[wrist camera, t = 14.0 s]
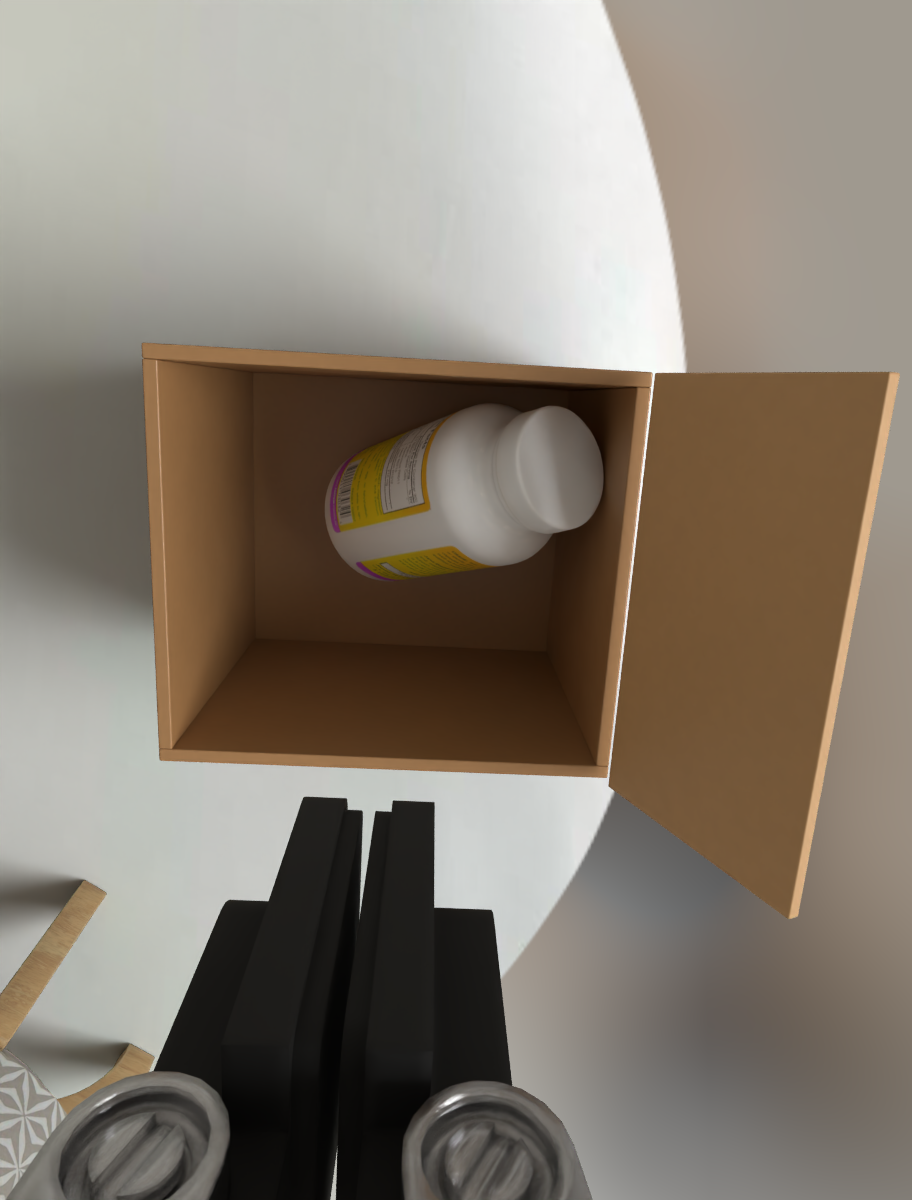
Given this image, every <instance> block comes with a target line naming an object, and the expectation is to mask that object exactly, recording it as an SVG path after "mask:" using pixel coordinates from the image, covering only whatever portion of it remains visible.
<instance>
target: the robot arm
mask: <svg viewBox="0 0 912 1200" xmlns="http://www.w3.org/2000/svg"><path fill="white" fill-rule="evenodd" d="M434 810H435V805H434V802H415V801H393V804H392V812H383V811H376V812H375V818H374V825H373V832H372V838H371V845H370V852H369V859H368V865H367V872H366V879H365V886H364V892H363V899H362V906H361V913H360V919H359V911H360V883H361V854H362V825H363V812H362V811H360V810H348V806H347V799H346V798H323V797H304V798H303V800H302V803H301V806H300V809H299V812H298V815H297V818H296V821H295V824H294V827H293V830H292V833H291V836H290V839H289V842H288V845H287V848H286V851H285V854H284V857H283V860H282V863H281V866H280V869H279V872H278V875H277V878H276V881H275V884H274V887H273V890H272V893H271V896H270V899H269V901H244V900H228V901H227V902H225V904H224V906H223V908H222V910H221V912H220V914H219V916H218V919H217V921H216V923H215V926H214V928H213V931H212V933H211V935H210V938H209V940H208V942H207V945H206V947H205V950H204V952H203V954H202V957H201V959H200V962H199V964H198V966H197V969H196V971H195V973H194V976H193V978H192V981H191V983H190V985H189V988H188V990H187V992H186V995H185V997H184V1000H183V1002H182V1004H181V1007H180V1009H179V1012H178V1014H177V1016H176V1019H175V1021H174V1023H173V1026H172V1028H171V1031H170V1033H169V1035H168V1038H167V1040H166V1042H165V1045H164V1047H163V1050H162V1052H161V1054H160V1057H159V1059H158V1061H157V1064H156V1066H155V1069H154V1071H152V1072H148V1073H143V1074H139V1075H134V1076H130V1077H125V1078H123V1079H121V1080H119V1081H117V1082H114V1083H112V1084H110V1085H108V1086H106V1087H103V1088H101V1089H99V1090H97V1091H96V1092H95V1093H93V1094H92V1095H91V1096H89V1097H88V1098H86V1099H85V1100H84V1101H82V1102H81V1103H80V1104H78V1105H77V1106H76V1107H74V1108H73V1109H72V1110H71V1111H70V1112H69V1114H68V1115H67V1116H66V1117H65V1118H64V1119H63V1120H62V1121H61V1123H60V1124H59V1125H58V1126H57V1127H56V1128H55V1129H54V1131H53V1132H52V1133H51V1135H50V1136H49V1138H48V1139H47V1140H46V1142H45V1143H44V1145H43V1146H42V1148H41V1149H40V1151H39V1152H38V1153H37V1155H36V1156H35V1158H34V1159H33V1161H32V1162H31V1163H30V1165H29V1166H28V1168H27V1169H26V1171H25V1172H24V1174H23V1175H22V1176H21V1178H20V1179H19V1181H18V1182H17V1184H16V1185H15V1187H14V1188H13V1189H12V1191H11V1192H10V1194H9V1195H8V1197H7V1198H6V1200H330V1197H331V1190H332V1182H333V1175H334V1167H335V1160H336V1152H337V1181H336V1182H337V1183H336V1200H592V1196H591V1193H590V1191H589V1187H588V1185H587V1182H586V1179H585V1176H584V1173H583V1170H582V1167H581V1164H580V1161H579V1158H578V1156H577V1153H576V1150H575V1147H574V1144H573V1142H572V1140H571V1138H570V1136H569V1134H568V1133H567V1131H566V1129H565V1127H564V1125H563V1123H562V1121H561V1120H560V1119H559V1118H558V1117H557V1116H556V1115H555V1114H554V1113H553V1112H552V1111H551V1110H550V1109H549V1108H548V1106H547V1105H546V1104H545V1103H543V1102H542V1101H540V1100H539V1099H537V1098H536V1097H534V1096H532V1095H531V1094H529V1093H527V1092H526V1091H524V1090H522V1089H520V1088H517V1087H514V1086H512V1080H511V1070H510V1061H509V1053H508V1043H507V1034H506V1025H505V1016H504V1007H503V997H502V988H501V979H500V970H499V961H498V952H497V943H496V933H495V924H494V917H493V912H492V910H480V909H454V908H434ZM337 1145H338V1147H337Z"/></svg>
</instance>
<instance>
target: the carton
mask: <svg viewBox="0 0 912 1200" xmlns="http://www.w3.org/2000/svg"><path fill="white" fill-rule="evenodd" d="M142 357H143V358H144V359H142V366H143V389H144V412H145V435H146V458H147V481H148V504H149V527H150V551H151V574H152V597H153V620H154V643H155V666H156V689H157V712H158V735H159V748H160V749H159V757H160V760H161V761H185V762H211V763H237V764H263V765H288V766H314V767H340V768H366V769H392V770H418V771H443V772H469V773H495V774H521V775H547V776H573V777H598V778H607V774H608V765H609V756H610V748H611V739H612V730H613V721H614V712H615V703H616V694H617V685H618V677H619V668H620V659H621V650H622V641H623V632H624V623H625V614H626V606H627V597H628V588H629V579H630V570H631V561H632V552H633V543H634V535H635V526H636V517H637V508H638V499H639V490H640V481H641V473H642V464H643V455H644V446H645V437H646V428H647V419H648V410H649V402H650V393H651V388H650V387H651V384H652V375H653V374H652V373H651V372H638V371H621V370H603V369H586V368H569V367H552V366H535V365H518V364H500V363H483V362H466V361H449V360H432V359H415V358H397V357H380V356H363V355H346V354H329V353H312V352H294V351H277V350H260V349H243V348H226V347H209V346H191V345H174V344H157V343H142ZM485 403H497V404H502V405H507V406H510V407H513V408H515V409H517V410H519V411H521V412H523V413H524V412H528V411H532V410H535V409H538V408H541V407H545V406H560V407H563V408H566V409H568V410H570V411H572V412H573V413H575V414H576V415H577V416H578V417H579V418H580V419H581V420H582V421H583V422H584V423H585V424H586V425H587V427H588V428H589V429H590V431H591V432H592V434H593V436H594V438H595V440H596V442H597V445H598V447H599V450H600V454H601V458H602V463H603V474H604V482H603V491H602V496H601V499H600V502H599V505H598V507H597V509H596V511H595V512H594V514H593V515H592V517H591V518H590V519H589V520H588V521H587V522H586V523H585V524H583V525H582V526H580V527H577V528H575V529H571V530H567V531H562V532H557V533H553V534H552V536H551V537H550V539H549V540H548V542H547V543H546V544H545V545H544V546H543V547H542V548H541V549H540V550H539V551H538V552H537V553H536V554H534V555H533V556H532V557H530V558H528V559H526V560H524V561H521V562H519V563H515V564H511V565H505V566H498V567H491V568H483V569H476V570H469V571H462V572H455V573H448V574H441V575H434V576H427V577H421V578H414V579H406V580H398V581H379V580H374V579H371V578H368V577H366V576H364V575H362V574H360V573H358V572H357V571H355V570H354V569H353V568H351V567H350V566H349V565H348V564H347V563H346V562H345V561H344V560H343V559H342V557H341V556H340V555H339V553H338V552H337V550H336V548H335V547H334V545H333V543H332V541H331V538H330V536H329V533H328V530H327V526H326V520H325V498H326V493H327V489H328V486H329V483H330V481H331V479H332V477H333V475H334V474H335V472H336V471H337V469H338V468H339V467H340V465H341V464H342V463H343V462H344V461H346V460H347V459H348V458H350V457H351V456H352V455H354V454H356V453H358V452H360V451H362V450H364V449H366V448H369V447H371V446H374V445H376V444H378V443H381V442H383V441H386V440H388V439H391V438H394V437H396V436H399V435H401V434H403V433H406V432H408V431H410V430H413V429H416V428H418V427H421V426H423V425H426V424H428V423H431V422H433V421H436V420H438V419H441V418H443V417H446V416H448V415H450V414H453V413H455V412H457V411H460V410H463V409H465V408H468V407H471V406H474V405H478V404H485Z"/></svg>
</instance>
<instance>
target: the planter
mask: <svg viewBox="0 0 912 1200" xmlns="http://www.w3.org/2000/svg"><path fill="white" fill-rule="evenodd" d="M105 896H106V892H104V891H102V890H101V889H99V888H97V887H96V886H94V885H92V884H91V883H89V882H87V881H85V880H84V881H83V882H82V883H81V885H80V886H79V887H78V889H77V890H76V891H75V893H74V894H73V895H72V897H71V898H70V900H69V901H68V902H67V904H66V905H65V906H64V908H63V909H62V911H61V912H60V913H59V915H58V916H57V917H56V919H55V920H54V922H53V923H52V924H51V926H50V927H49V928H48V930H47V931H46V933H45V934H44V935H43V937H42V938H41V939H40V941H39V942H38V944H37V945H36V946H35V948H34V949H33V950H32V952H31V953H30V955H29V956H28V957H27V959H26V960H25V961H24V963H23V964H22V966H21V967H20V968H19V970H18V971H17V972H16V974H15V975H14V977H13V978H12V979H11V981H10V982H9V983H8V985H7V986H6V988H5V989H4V990H3V992H2V993H1V994H0V1200H6V1198H7V1197H8V1195H9V1194H10V1192H11V1191H12V1189H13V1188H14V1187H15V1185H16V1184H17V1182H18V1181H19V1179H20V1178H21V1176H22V1175H23V1174H24V1172H25V1171H26V1169H27V1168H28V1166H29V1165H30V1163H31V1162H32V1161H33V1159H34V1158H35V1156H36V1155H37V1153H38V1152H39V1151H40V1149H41V1148H42V1146H43V1145H44V1143H45V1142H46V1140H47V1139H48V1138H49V1136H50V1135H51V1133H52V1132H53V1131H54V1129H55V1128H56V1127H57V1126H58V1125H59V1124H60V1123H61V1121H62V1120H63V1119H64V1118H65V1117H66V1116H67V1115H68V1114H69V1112H70V1111H71V1110H72V1109H73V1108H74V1107H76V1106H77V1105H78V1104H80V1103H81V1102H82V1101H84V1100H85V1099H86V1098H88V1097H89V1096H91V1095H92V1094H93V1093H95V1092H96V1091H97V1090H99V1089H101V1088H103V1087H106V1086H108V1085H110V1084H112V1083H114V1082H117V1081H119V1080H121V1079H123V1078H125V1077H130V1076H134V1075H139V1074H143V1073H148V1072H149V1070H150V1068H151V1065H152V1063H153V1061H154V1057H153V1056H152V1055H150V1054H148V1053H146V1052H144V1051H143V1050H141V1049H139V1048H137V1047H135V1046H134V1045H132V1044H130V1045H128V1047H127V1048H126V1049H125V1051H124V1052H123V1053H122V1054H121V1056H120V1057H119V1058H118V1060H117V1061H116V1063H115V1065H114V1067H113V1068H112V1069H111V1070H110V1071H109V1072H108V1073H107V1074H106V1075H105V1076H104V1077H103V1078H101V1079H100V1080H98V1081H97V1082H96V1083H94V1084H93V1085H91V1086H90V1087H88V1088H86V1089H84V1090H82V1091H80V1092H78V1093H75V1094H72V1095H69V1096H66V1097H63V1098H60V1099H56V1098H55V1097H54V1096H53V1095H52V1094H51V1092H50V1091H49V1090H48V1089H47V1088H46V1087H45V1086H44V1085H43V1083H42V1082H41V1080H40V1079H39V1078H38V1077H37V1076H36V1075H35V1074H34V1073H33V1072H32V1071H31V1070H30V1068H29V1067H28V1066H27V1065H26V1064H25V1063H23V1062H22V1061H21V1060H20V1059H18V1058H17V1057H16V1056H15V1055H13V1054H12V1053H11V1052H10V1051H8V1050H7V1049H5V1046H6V1045H7V1044H8V1042H9V1041H10V1039H11V1038H12V1036H13V1035H14V1033H15V1032H16V1030H17V1029H18V1027H19V1026H20V1024H21V1023H22V1021H23V1020H24V1018H25V1017H26V1015H27V1014H28V1012H29V1011H30V1009H31V1008H32V1006H33V1004H34V1003H35V1001H36V1000H37V998H38V997H39V995H40V994H41V992H42V991H43V989H44V988H45V986H46V985H47V983H48V982H49V980H50V979H51V977H52V976H53V974H54V973H55V971H56V970H57V968H58V967H59V965H60V964H61V962H62V961H63V959H64V958H65V956H66V955H67V953H68V952H69V950H70V949H71V947H72V946H73V944H74V943H75V941H76V940H77V938H78V936H79V935H80V933H81V932H82V930H83V929H84V927H85V926H86V924H87V923H88V921H89V920H90V918H91V917H92V915H93V914H94V912H95V911H96V909H97V908H98V906H99V905H100V903H101V902H102V900H103V899H104V897H105Z"/></svg>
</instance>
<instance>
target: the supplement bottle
mask: <svg viewBox="0 0 912 1200" xmlns="http://www.w3.org/2000/svg"><path fill="white" fill-rule="evenodd" d="M603 482H604V474H603V463H602V458H601V454H600V450H599V447H598V445H597V442H596V440H595V438H594V436H593V434H592V432H591V431H590V429H589V428H588V427H587V425H586V424H585V423H584V422H583V421H582V420H581V419H580V418H579V417H578V416H577V415H576V414H575V413H573V412H572V411H570V410H568V409H566V408H563V407H560V406H545V407H541V408H538V409H535V410H532V411H528V412H524V413H523V412H521V411H519V410H517V409H515V408H513V407H510V406H507V405H502V404H497V403H485V404H478V405H474V406H471V407H468V408H465V409H463V410H460V411H457V412H455V413H453V414H450V415H448V416H446V417H443V418H441V419H438V420H436V421H433V422H431V423H428V424H426V425H423V426H421V427H418V428H416V429H413V430H410V431H408V432H406V433H403V434H401V435H399V436H396V437H394V438H391V439H388V440H386V441H383V442H381V443H378V444H376V445H374V446H371V447H369V448H366V449H364V450H362V451H360V452H358V453H356V454H354V455H352V456H351V457H350V458H348V459H347V460H346V461H344V462H343V463H342V464H341V465H340V467H339V468H338V469H337V471H336V472H335V474H334V475H333V477H332V479H331V481H330V483H329V486H328V489H327V493H326V498H325V520H326V526H327V530H328V533H329V536H330V538H331V541H332V543H333V545H334V547H335V548H336V550H337V552H338V553H339V555H340V556H341V557H342V559H343V560H344V561H345V562H346V563H347V564H348V565H349V566H350V567H351V568H353V569H354V570H355V571H357V572H358V573H360V574H362V575H364V576H366V577H368V578H371V579H374V580H379V581H398V580H406V579H414V578H421V577H427V576H434V575H441V574H448V573H455V572H462V571H469V570H476V569H483V568H491V567H498V566H505V565H511V564H515V563H519V562H521V561H524V560H526V559H528V558H530V557H532V556H533V555H534V554H536V553H537V552H538V551H539V550H540V549H541V548H542V547H543V546H544V545H545V544H546V543H547V542H548V540H549V539H550V537H551V536H552V534H553V533H557V532H562V531H567V530H571V529H575V528H577V527H580V526H582V525H583V524H585V523H586V522H587V521H588V520H589V519H590V518H591V517H592V515H593V514H594V512H595V511H596V509H597V507H598V505H599V502H600V499H601V496H602V491H603Z"/></svg>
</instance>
